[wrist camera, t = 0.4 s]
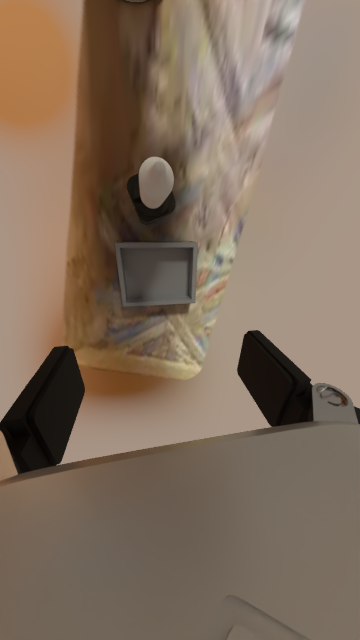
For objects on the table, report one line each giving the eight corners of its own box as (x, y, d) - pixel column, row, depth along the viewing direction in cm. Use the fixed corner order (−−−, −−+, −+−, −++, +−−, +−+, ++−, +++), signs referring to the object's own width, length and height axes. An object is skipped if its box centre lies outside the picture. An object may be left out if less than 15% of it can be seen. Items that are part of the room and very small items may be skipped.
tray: (117, 241, 36) (114, 242, 33) (193, 241, 39) (197, 242, 35) (124, 300, 41) (122, 307, 38) (191, 297, 44) (195, 302, 40)
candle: (167, 215, 36) (206, 194, 14) (142, 226, 36) (141, 222, 14) (156, 185, 33) (182, 99, 11) (129, 196, 34) (104, 132, 11)
